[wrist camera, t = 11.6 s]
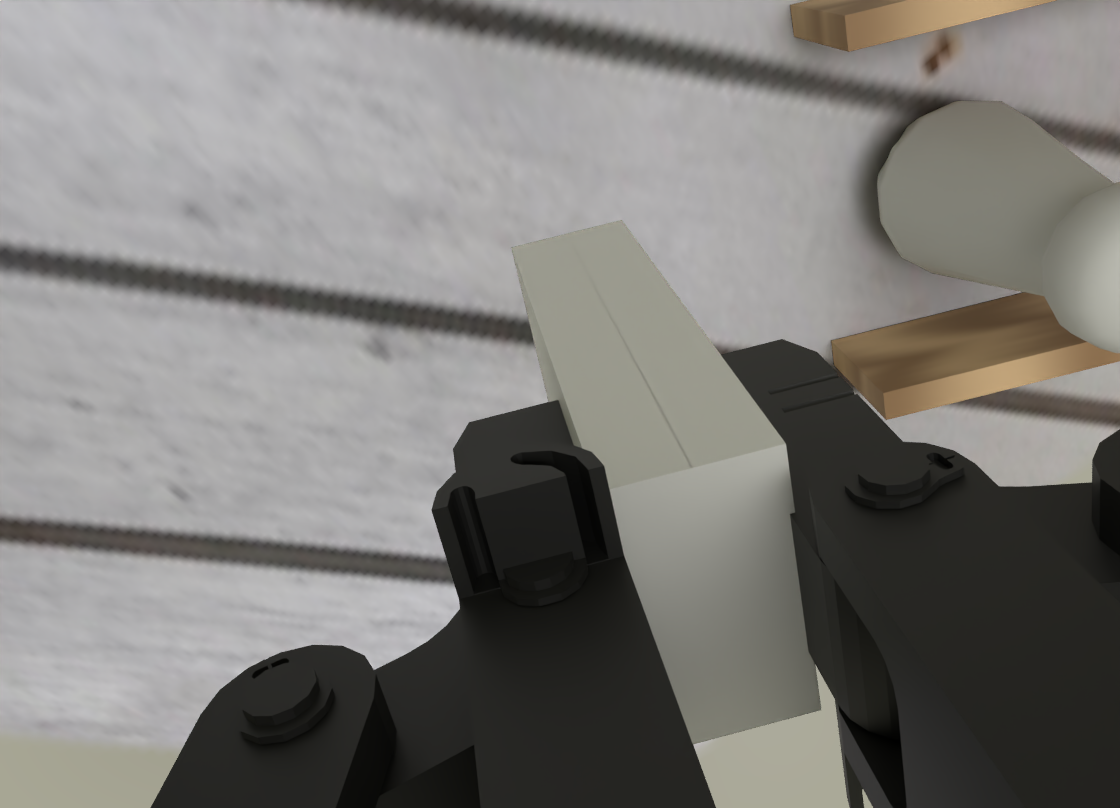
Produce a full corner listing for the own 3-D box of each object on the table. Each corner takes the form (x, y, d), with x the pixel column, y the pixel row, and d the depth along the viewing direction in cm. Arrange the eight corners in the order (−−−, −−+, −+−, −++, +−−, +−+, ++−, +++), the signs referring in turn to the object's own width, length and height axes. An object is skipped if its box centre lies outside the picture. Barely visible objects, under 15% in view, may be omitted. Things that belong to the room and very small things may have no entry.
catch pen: (834, 365, 40) (885, 419, 36) (790, 4, 35) (844, 15, 30) (1193, 274, 40) (1290, 318, 36) (1204, -97, 35) (1320, -102, 31)
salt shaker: (880, 280, 39) (1076, 429, 27) (833, 135, 37) (1025, 230, 25) (1030, 212, 39) (1296, 334, 27) (992, 61, 36) (1265, 121, 25)
